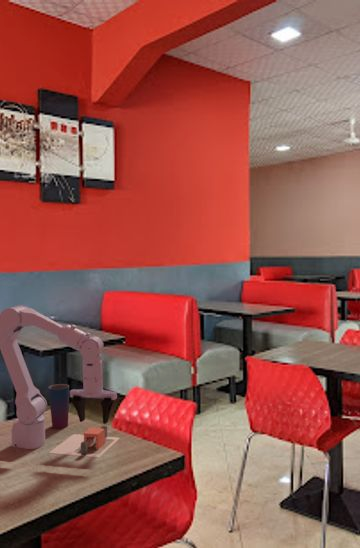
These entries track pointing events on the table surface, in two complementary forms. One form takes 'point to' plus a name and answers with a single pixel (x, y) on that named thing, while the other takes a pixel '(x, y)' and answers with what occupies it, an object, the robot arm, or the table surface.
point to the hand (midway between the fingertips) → (93, 421)
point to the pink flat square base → (80, 445)
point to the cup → (59, 405)
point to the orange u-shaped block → (96, 433)
